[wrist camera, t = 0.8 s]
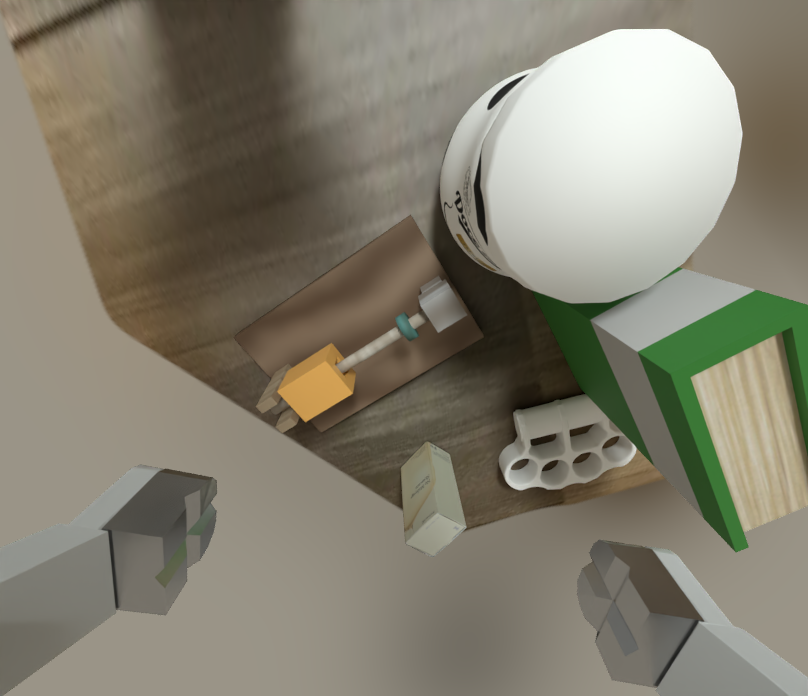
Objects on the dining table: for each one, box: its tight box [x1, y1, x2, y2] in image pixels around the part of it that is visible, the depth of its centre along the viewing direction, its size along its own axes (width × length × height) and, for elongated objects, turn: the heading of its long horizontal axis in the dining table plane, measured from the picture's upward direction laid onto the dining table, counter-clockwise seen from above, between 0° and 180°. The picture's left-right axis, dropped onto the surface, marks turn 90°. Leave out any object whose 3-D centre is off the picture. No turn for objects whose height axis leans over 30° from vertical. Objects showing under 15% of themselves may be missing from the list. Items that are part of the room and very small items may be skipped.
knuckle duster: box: [499, 394, 637, 490], centre depth 52 cm, size 3×18×15 cm
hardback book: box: [532, 267, 808, 552], centre depth 35 cm, size 18×7×24 cm, turn 32°
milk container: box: [440, 29, 743, 303], centre depth 31 cm, size 17×17×18 cm
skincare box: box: [401, 441, 466, 557], centre depth 48 cm, size 6×4×12 cm
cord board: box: [234, 215, 484, 433], centre depth 41 cm, size 16×24×9 cm, turn 123°
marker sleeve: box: [277, 343, 356, 422], centre depth 39 cm, size 4×6×4 cm
